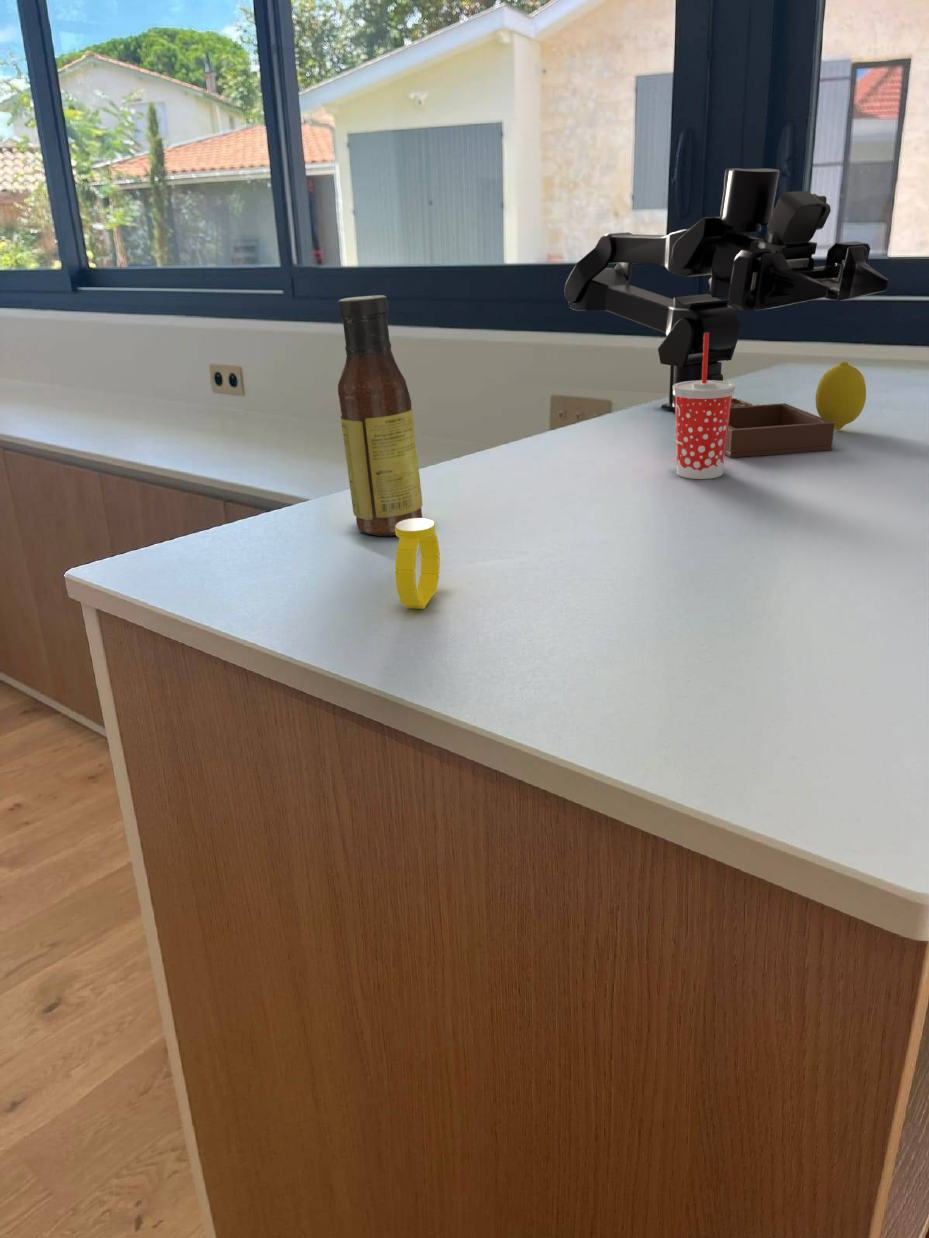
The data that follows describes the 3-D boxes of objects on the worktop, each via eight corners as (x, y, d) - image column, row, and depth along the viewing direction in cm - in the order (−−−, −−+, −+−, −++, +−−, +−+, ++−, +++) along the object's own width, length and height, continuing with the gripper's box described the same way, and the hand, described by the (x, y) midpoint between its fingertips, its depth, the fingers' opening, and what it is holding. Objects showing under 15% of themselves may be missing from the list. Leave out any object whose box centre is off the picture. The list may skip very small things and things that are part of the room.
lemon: (869, 434, 111) (877, 364, 107) (821, 436, 111) (828, 366, 108) (852, 424, 116) (859, 357, 113) (806, 426, 116) (812, 359, 113)
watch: (415, 586, 71) (410, 510, 69) (450, 588, 71) (446, 511, 68) (389, 616, 66) (381, 535, 64) (426, 619, 65) (421, 537, 63)
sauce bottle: (433, 519, 87) (419, 292, 79) (408, 540, 82) (389, 299, 74) (369, 516, 89) (348, 294, 81) (339, 536, 84) (315, 301, 76)
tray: (691, 434, 115) (692, 409, 114) (783, 427, 116) (785, 403, 115) (730, 458, 103) (732, 430, 102) (831, 450, 104) (834, 423, 103)
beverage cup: (683, 463, 102) (689, 328, 96) (739, 469, 98) (748, 330, 93) (659, 477, 97) (664, 336, 92) (716, 483, 94) (725, 337, 88)
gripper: (706, 194, 106) (809, 211, 94) (827, 189, 114) (936, 204, 102) (692, 297, 112) (788, 325, 100) (808, 285, 119) (910, 310, 108)
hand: (857, 288), depth 102 cm, fingers open, 9 cm apart
